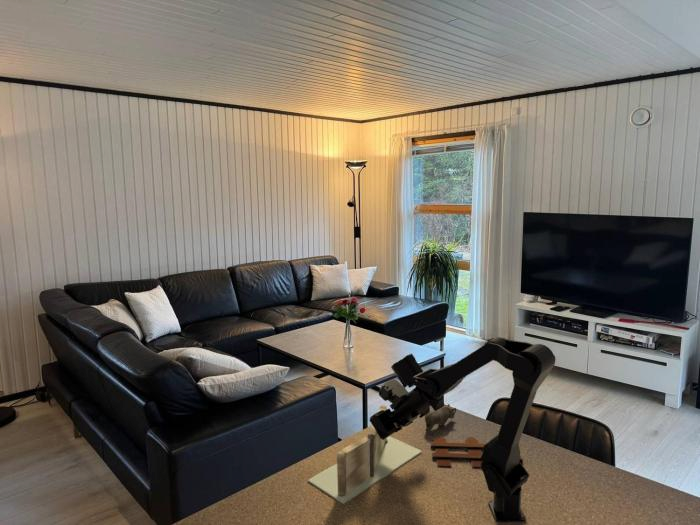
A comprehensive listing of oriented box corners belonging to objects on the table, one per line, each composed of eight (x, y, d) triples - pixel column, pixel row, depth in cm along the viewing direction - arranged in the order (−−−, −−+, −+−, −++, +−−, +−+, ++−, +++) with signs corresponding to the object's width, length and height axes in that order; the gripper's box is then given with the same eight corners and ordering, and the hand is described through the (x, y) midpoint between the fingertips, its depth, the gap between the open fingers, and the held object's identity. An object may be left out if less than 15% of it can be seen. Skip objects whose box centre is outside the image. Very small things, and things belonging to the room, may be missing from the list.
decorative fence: (526, 472, 122) (512, 441, 137) (526, 466, 122) (512, 435, 137) (433, 469, 125) (429, 439, 139) (433, 463, 124) (429, 433, 139)
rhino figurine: (461, 421, 148) (462, 403, 147) (431, 436, 139) (431, 417, 138) (451, 416, 151) (451, 398, 150) (420, 431, 143) (420, 412, 142)
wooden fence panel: (341, 497, 113) (340, 454, 111) (336, 494, 114) (335, 451, 112) (375, 475, 121) (375, 435, 119) (370, 472, 122) (369, 432, 120)
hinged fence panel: (375, 472, 122) (374, 434, 120) (368, 471, 122) (367, 434, 120) (387, 439, 137) (387, 405, 135) (381, 438, 137) (380, 405, 136)
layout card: (343, 504, 111) (343, 502, 111) (308, 481, 120) (308, 479, 120) (421, 452, 131) (421, 450, 131) (386, 436, 140) (386, 434, 140)
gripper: (420, 364, 131) (389, 391, 140) (374, 385, 118) (343, 414, 127) (445, 400, 127) (411, 426, 136) (400, 425, 114) (366, 453, 123)
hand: (384, 428), depth 131 cm, fingers closed
